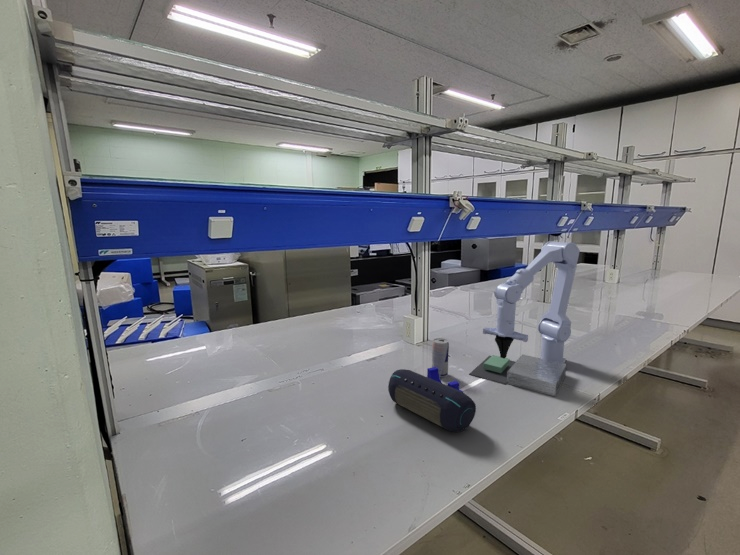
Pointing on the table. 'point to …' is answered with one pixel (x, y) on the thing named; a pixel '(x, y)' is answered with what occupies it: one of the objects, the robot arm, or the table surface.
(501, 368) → the thick sage green slab
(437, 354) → the energy drink
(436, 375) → the cable clip
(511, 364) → the mat
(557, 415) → the table surface
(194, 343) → the table surface
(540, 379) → the deck
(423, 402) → the portable speaker
